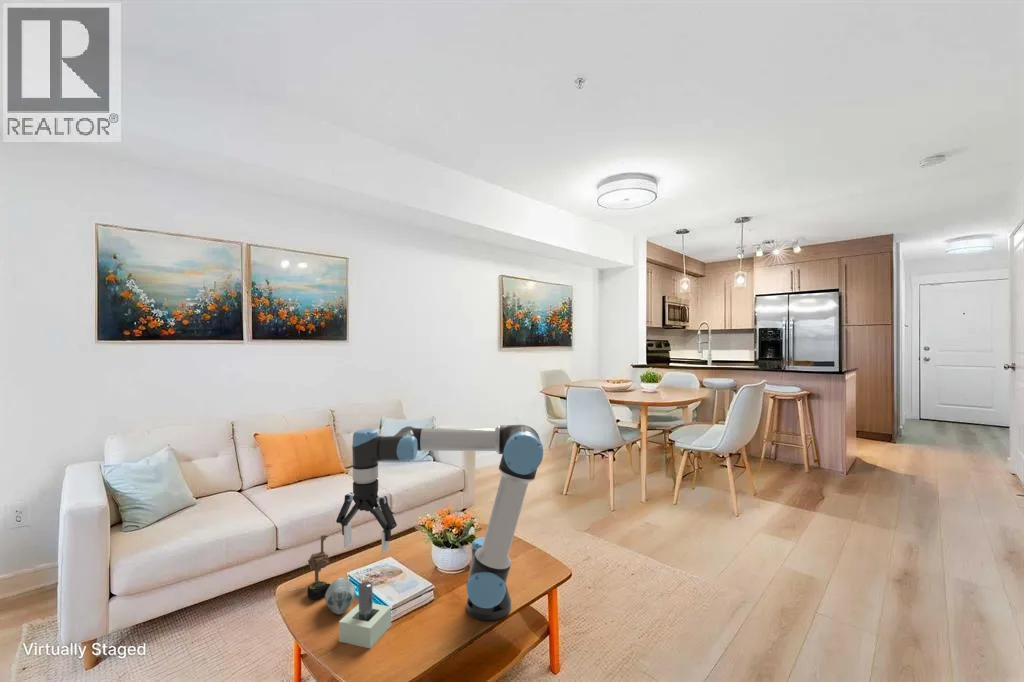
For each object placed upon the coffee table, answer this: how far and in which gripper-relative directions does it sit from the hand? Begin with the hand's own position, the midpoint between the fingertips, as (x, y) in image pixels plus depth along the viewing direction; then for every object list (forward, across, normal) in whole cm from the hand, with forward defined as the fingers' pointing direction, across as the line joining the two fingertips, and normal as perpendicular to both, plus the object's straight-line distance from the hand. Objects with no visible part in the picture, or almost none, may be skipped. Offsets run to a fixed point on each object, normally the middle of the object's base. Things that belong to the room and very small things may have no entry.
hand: (366, 548), depth 137 cm
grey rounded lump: (+27, +15, -7) cm, 31 cm away
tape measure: (+26, +26, -10) cm, 38 cm away
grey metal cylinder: (+26, 0, 0) cm, 27 cm away
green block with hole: (+26, 0, 0) cm, 26 cm away
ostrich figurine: (+26, +38, -15) cm, 48 cm away
